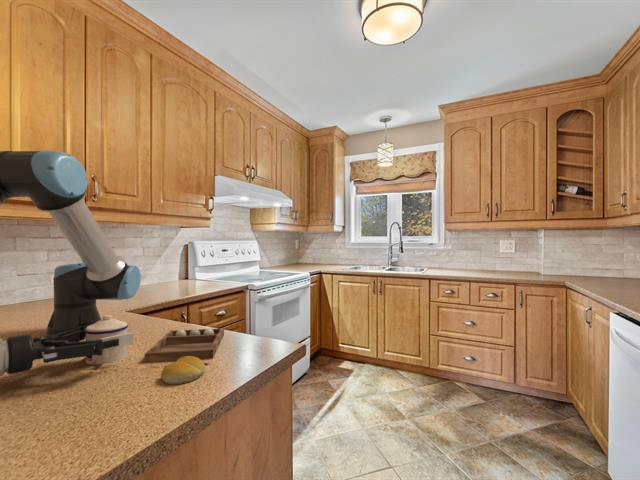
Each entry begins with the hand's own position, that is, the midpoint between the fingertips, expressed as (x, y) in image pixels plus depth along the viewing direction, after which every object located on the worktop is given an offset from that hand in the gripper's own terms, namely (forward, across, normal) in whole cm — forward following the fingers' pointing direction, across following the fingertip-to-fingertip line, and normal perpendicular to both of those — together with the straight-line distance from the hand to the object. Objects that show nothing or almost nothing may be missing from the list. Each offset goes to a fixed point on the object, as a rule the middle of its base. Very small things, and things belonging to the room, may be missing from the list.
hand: (123, 333), depth 82 cm
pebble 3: (+22, +4, -6) cm, 23 cm away
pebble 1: (+16, -2, -6) cm, 17 cm away
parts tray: (+15, +6, -7) cm, 17 cm away
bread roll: (+5, +22, -7) cm, 23 cm away
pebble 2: (+19, +1, -6) cm, 20 cm away
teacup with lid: (-4, 0, -7) cm, 8 cm away
